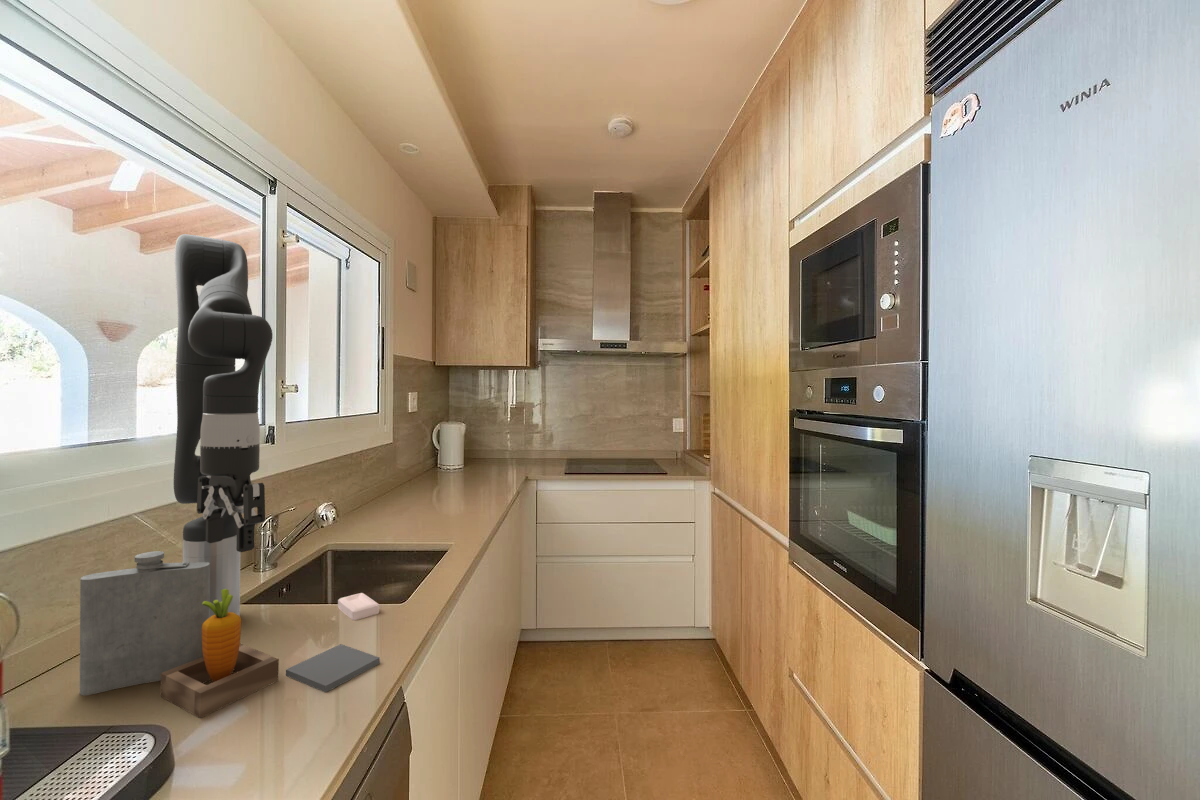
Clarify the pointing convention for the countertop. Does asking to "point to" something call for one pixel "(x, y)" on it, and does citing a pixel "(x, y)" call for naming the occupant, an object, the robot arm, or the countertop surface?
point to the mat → (332, 667)
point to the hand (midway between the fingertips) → (229, 546)
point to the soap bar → (358, 606)
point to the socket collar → (218, 682)
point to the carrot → (221, 638)
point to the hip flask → (141, 621)
